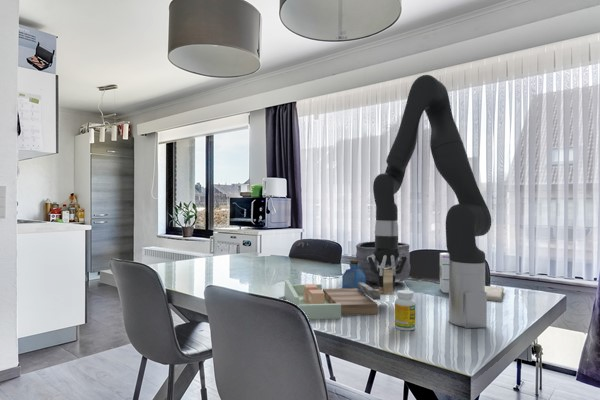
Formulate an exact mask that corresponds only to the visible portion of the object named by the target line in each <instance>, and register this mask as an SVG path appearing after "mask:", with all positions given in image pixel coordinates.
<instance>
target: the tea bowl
mask: <svg viewBox="0 0 600 400" xmlns="http://www.w3.org/2000/svg"><path fill="white" fill-rule="evenodd" d="M355 248H356V253H355V257H356V259H355V260H358V264H359V267H358V269H361V270H362V271H363V273H364V274H365V276H366V281H370V283H372V284H376V285H378V284H377V274H374V273H372V271H371V269H370V266H369V264H368V262H367V259H366V257H367V256H371V255H373V254H374V251H375V240H374V241H364V242H359V243H358V244H356V245H355ZM398 252H399V255H402V256H405V257H406V258H407V259H406V262H405V264H404V267H403V269H402V271H401V273H400V274H396V275H395V283H399V282H403V281H405V280H407V278H409V275H410V273H411V272H410V271H411V264H410V263H411V262H410V259H411V257H410V244H409V243H405V242H399V241H398ZM374 260H375V261H374V264H375V267H376V269H377V268H378V267H377V265H378V261H377V260H376V258H374ZM397 264H398V258H397V260H396V261H395V267H396V266H397ZM385 268H389V267H388V265H385Z"/></svg>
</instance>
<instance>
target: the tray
mask: <svg viewBox="0 0 600 400" xmlns="http://www.w3.org/2000/svg"><path fill="white" fill-rule="evenodd" d="M303 284H304V283H303ZM303 284H302V283H301V284H292V283H291V281H290V280H289V279H285V280H284V294H283V295H284V299H285V300H288V301H290V302H292V303H294V304H296V305H297V306H299V307H300V308H301V309H302V310H303V311H304V312H305V314H306V315H307V317H308V319H309V320H331V319H332V320H333V319H335V320H337V319H341V318H342V315H341V304H340V303H338V304H330V303H329V302H328V301H327V300H326V299H325V298H324V304H309V303H305V301H304V300H303ZM314 284H315V285H316V286H317V287H318V290H322V291H323V285H322V284H321V283H320V284H319V283H314Z"/></svg>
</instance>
